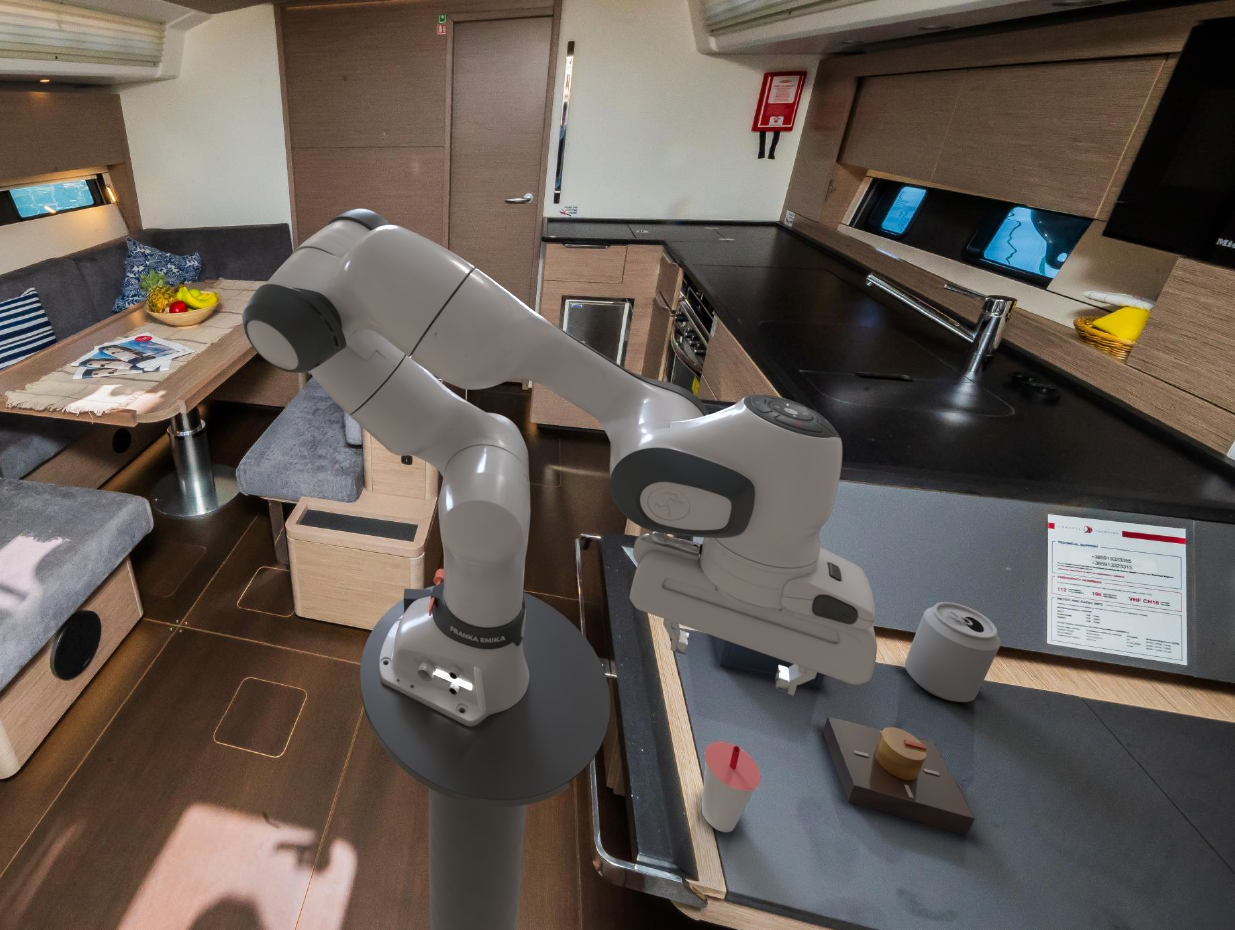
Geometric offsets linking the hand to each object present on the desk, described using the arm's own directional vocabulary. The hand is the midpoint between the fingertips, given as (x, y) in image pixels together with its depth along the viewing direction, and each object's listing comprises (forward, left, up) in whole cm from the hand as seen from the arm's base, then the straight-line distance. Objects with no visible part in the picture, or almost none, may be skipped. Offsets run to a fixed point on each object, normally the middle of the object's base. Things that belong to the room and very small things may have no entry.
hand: (729, 667), depth 59 cm
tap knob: (+23, +11, -20) cm, 32 cm away
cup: (+3, 0, -23) cm, 23 cm away
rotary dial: (+23, +11, -23) cm, 34 cm away
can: (+35, +29, -23) cm, 51 cm away
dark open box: (+13, +29, -23) cm, 39 cm away
